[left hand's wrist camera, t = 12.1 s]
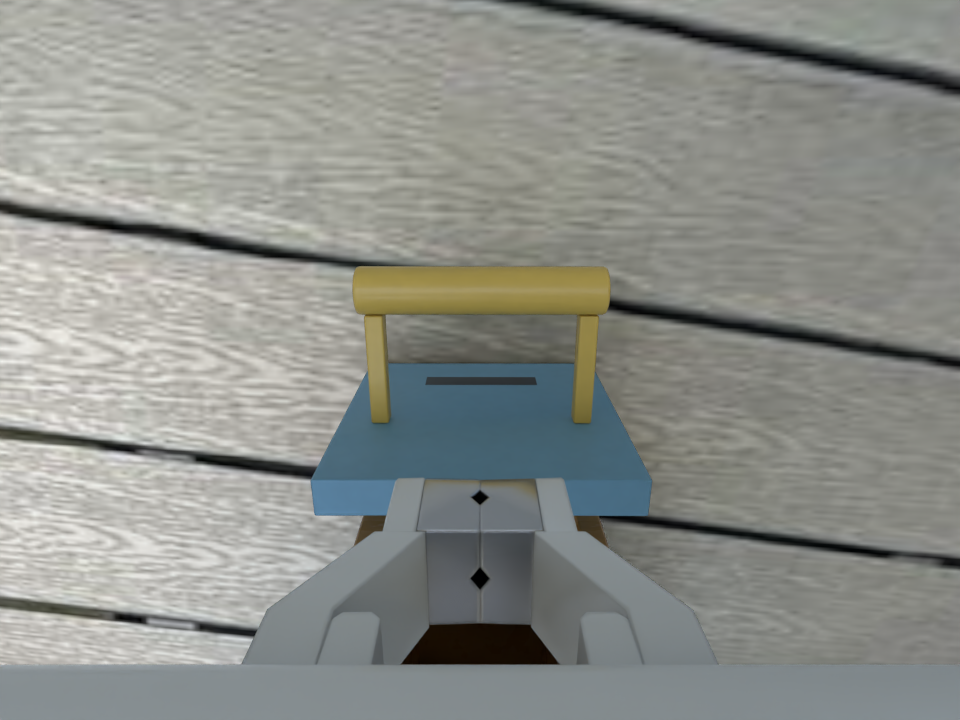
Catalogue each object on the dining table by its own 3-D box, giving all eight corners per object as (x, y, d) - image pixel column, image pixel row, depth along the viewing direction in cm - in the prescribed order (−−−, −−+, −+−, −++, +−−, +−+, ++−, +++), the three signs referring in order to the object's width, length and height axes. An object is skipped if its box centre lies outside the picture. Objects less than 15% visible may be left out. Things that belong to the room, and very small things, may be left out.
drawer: (362, 240, 23) (288, 295, 14) (600, 240, 23) (675, 295, 14) (394, 703, 32) (361, 916, 23) (566, 703, 32) (600, 917, 23)
